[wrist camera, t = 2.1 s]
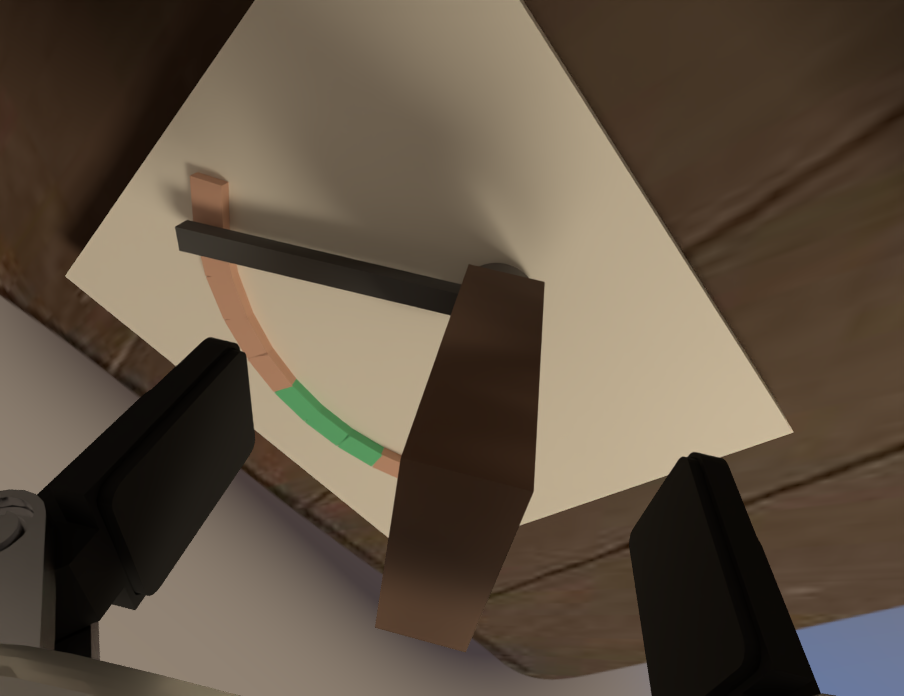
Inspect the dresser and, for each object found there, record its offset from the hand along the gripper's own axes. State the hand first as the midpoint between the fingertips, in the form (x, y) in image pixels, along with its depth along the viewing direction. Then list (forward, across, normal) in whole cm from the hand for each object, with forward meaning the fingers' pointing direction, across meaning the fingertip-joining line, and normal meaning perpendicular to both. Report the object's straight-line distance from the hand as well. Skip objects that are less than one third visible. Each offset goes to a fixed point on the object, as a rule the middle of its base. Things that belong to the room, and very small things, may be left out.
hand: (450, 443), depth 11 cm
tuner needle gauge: (+6, +4, 0) cm, 7 cm away
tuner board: (+8, +2, +3) cm, 9 cm away
